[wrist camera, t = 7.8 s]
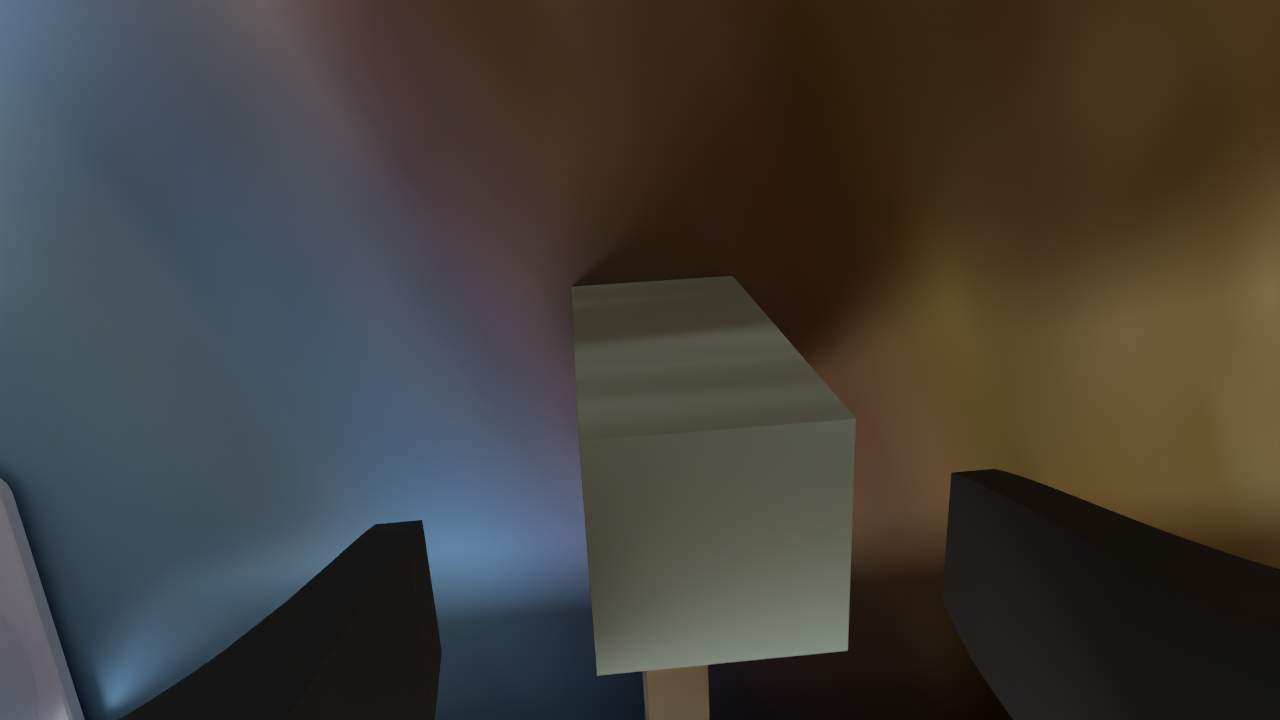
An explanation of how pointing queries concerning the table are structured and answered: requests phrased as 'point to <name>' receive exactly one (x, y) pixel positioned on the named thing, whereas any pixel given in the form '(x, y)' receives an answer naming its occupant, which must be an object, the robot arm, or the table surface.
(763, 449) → the gray rectangular block
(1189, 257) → the table surface
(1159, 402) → the table surface
